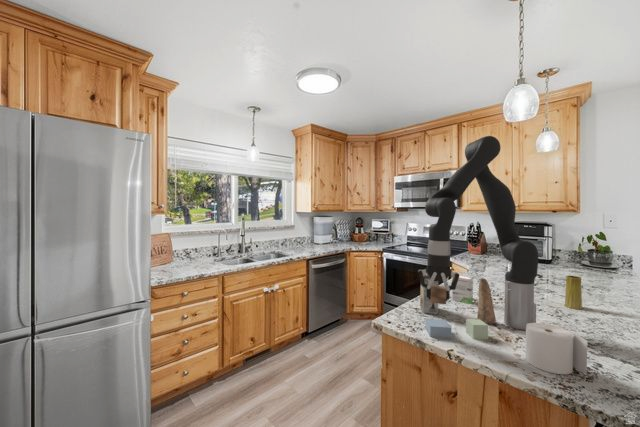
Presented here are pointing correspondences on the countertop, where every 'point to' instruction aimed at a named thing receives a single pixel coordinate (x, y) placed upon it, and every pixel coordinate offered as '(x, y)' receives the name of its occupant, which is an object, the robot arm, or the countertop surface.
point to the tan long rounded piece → (485, 303)
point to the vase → (573, 292)
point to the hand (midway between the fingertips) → (437, 299)
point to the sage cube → (476, 329)
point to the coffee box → (424, 301)
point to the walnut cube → (438, 294)
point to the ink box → (463, 290)
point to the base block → (438, 328)
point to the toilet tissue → (555, 349)
